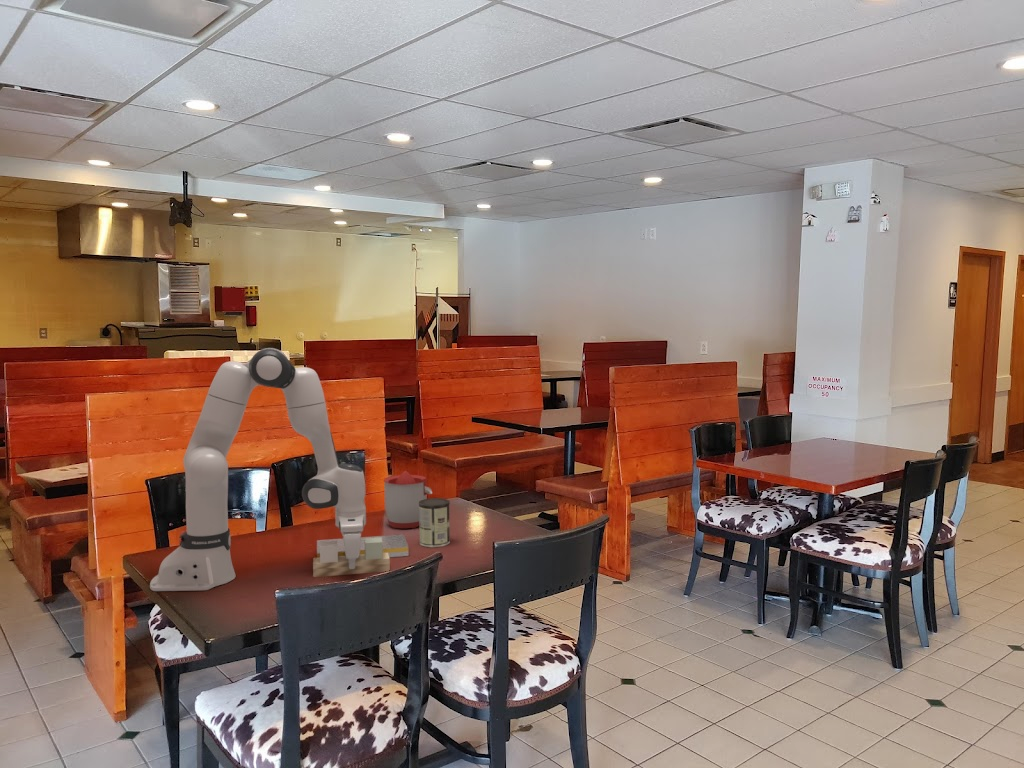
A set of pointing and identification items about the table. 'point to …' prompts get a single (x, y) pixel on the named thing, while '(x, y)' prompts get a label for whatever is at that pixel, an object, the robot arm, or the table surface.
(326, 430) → the robot arm
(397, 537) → the dock
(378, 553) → the pale green cube
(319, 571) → the checkered beige brown block
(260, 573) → the table surface
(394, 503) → the citrus juicer
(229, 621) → the table surface
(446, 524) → the coffee can
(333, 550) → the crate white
